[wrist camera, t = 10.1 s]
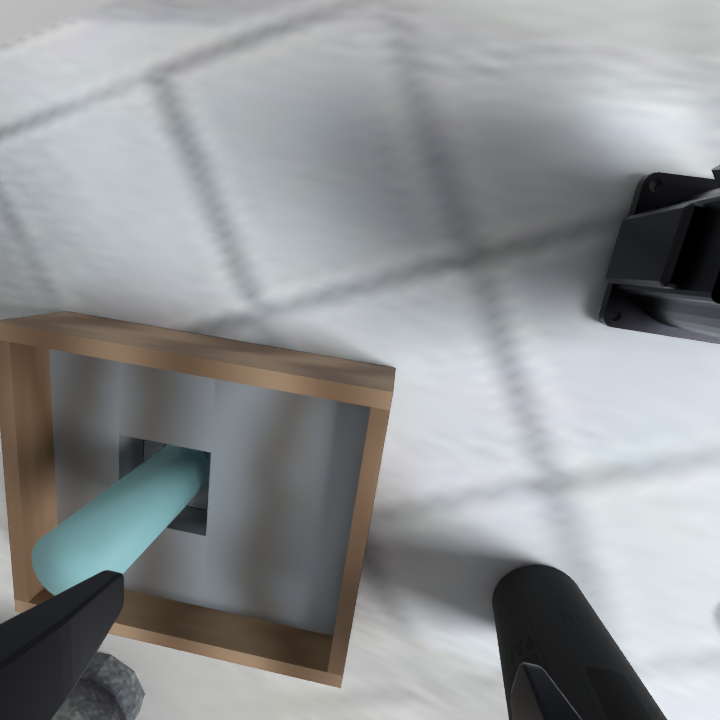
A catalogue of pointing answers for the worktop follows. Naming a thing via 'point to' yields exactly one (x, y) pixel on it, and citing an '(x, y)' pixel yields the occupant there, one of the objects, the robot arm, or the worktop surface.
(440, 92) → the worktop surface
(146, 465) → the peg
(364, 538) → the insert box
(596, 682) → the drinking cup
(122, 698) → the mortar and pestle
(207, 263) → the worktop surface
